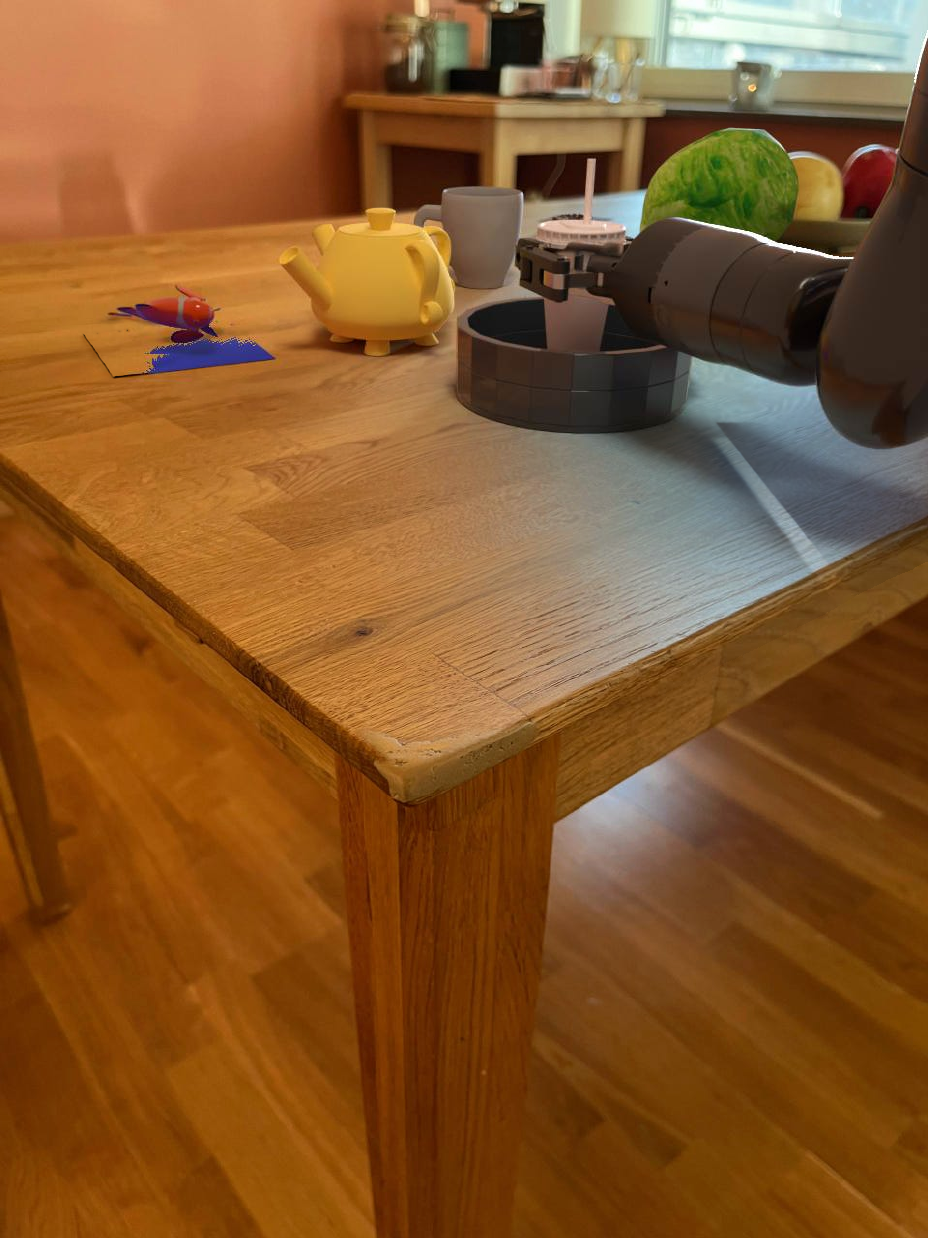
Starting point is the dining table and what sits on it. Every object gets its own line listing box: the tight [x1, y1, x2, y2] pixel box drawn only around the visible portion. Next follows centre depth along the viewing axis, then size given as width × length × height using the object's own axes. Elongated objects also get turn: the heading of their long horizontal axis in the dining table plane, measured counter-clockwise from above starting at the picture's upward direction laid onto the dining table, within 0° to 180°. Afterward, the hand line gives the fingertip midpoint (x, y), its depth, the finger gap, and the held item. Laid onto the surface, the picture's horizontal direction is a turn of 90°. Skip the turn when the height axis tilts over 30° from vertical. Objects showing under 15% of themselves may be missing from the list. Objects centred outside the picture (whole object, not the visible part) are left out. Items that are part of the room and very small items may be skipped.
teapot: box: [278, 207, 456, 357], centre depth 86 cm, size 14×14×11 cm
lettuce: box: [638, 127, 800, 243], centre depth 118 cm, size 17×20×17 cm
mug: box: [413, 185, 524, 290], centre depth 109 cm, size 12×9×10 cm
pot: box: [455, 296, 694, 434], centre depth 75 cm, size 18×18×6 cm
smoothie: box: [535, 158, 627, 352], centre depth 71 cm, size 6×6×14 cm
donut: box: [551, 213, 596, 221], centre depth 144 cm, size 8×8×2 cm
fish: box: [107, 284, 221, 344], centre depth 85 cm, size 13×5×9 cm
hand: (562, 250), depth 72 cm, fingers closed on smoothie, 6 cm apart
